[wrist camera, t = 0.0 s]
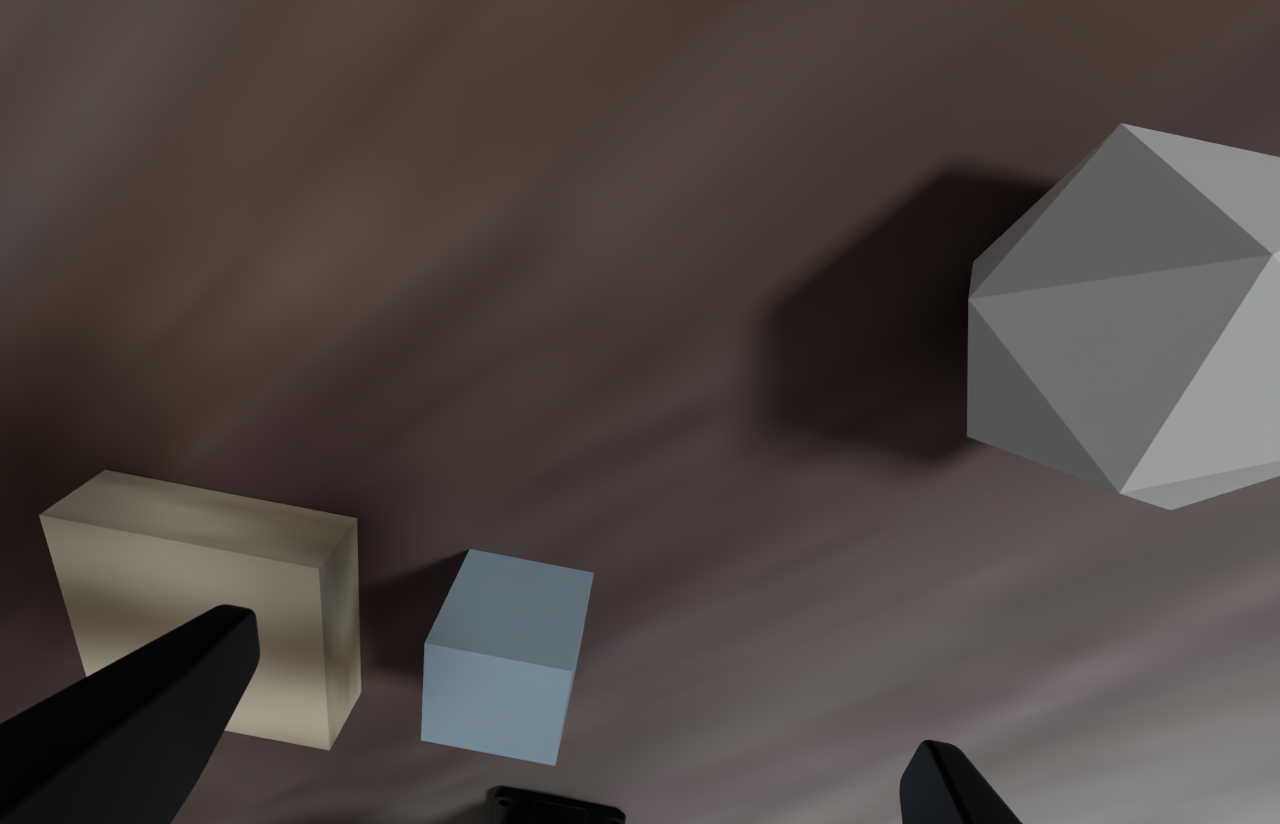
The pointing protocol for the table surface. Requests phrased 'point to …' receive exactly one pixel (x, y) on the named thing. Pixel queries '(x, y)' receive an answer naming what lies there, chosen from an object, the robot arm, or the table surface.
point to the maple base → (217, 590)
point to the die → (1137, 322)
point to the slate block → (504, 657)
